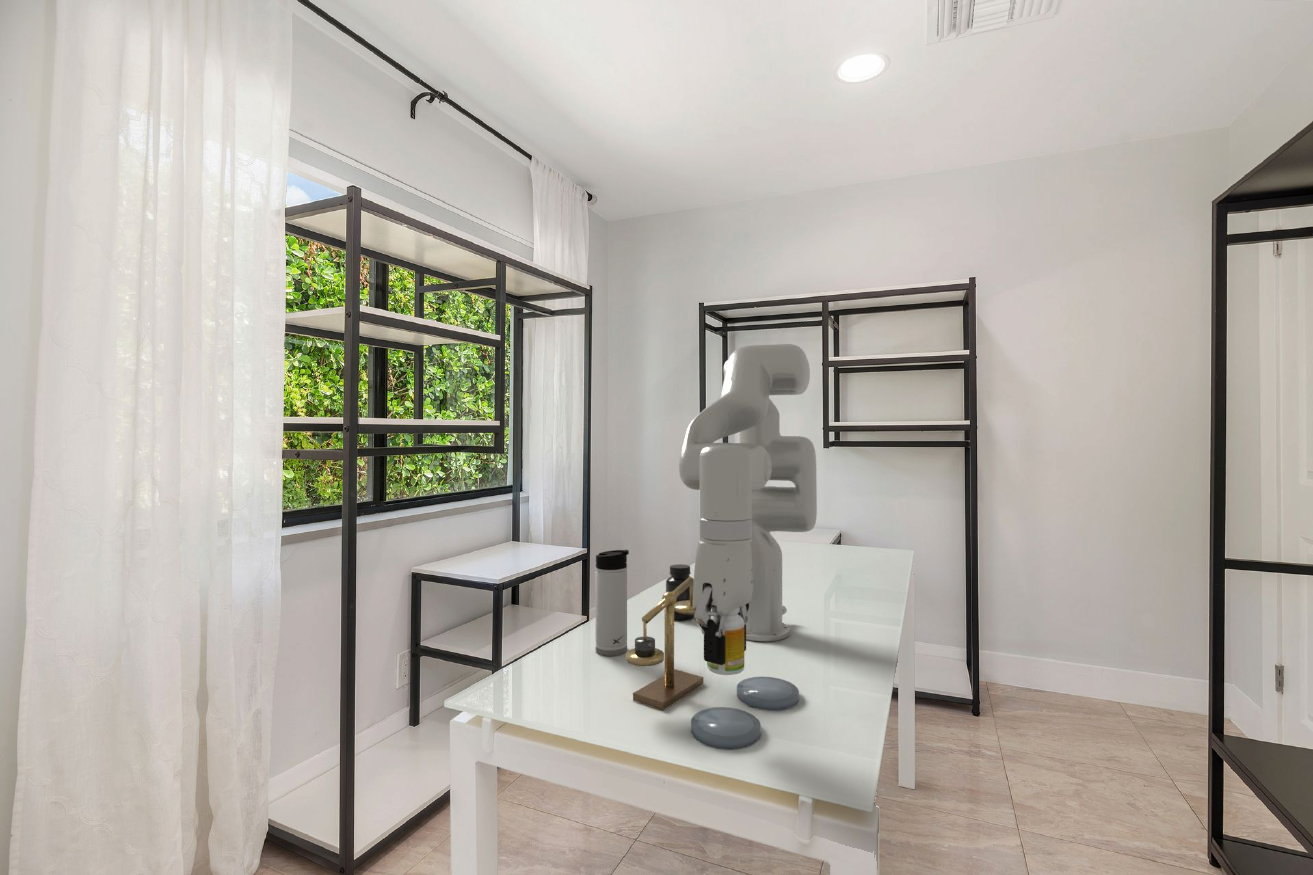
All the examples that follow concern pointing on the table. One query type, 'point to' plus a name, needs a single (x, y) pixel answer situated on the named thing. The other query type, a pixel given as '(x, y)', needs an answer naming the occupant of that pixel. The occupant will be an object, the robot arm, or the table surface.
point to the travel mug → (611, 602)
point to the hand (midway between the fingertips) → (725, 654)
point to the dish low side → (725, 728)
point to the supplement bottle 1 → (676, 579)
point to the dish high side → (767, 693)
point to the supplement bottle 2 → (731, 644)
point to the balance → (646, 654)
